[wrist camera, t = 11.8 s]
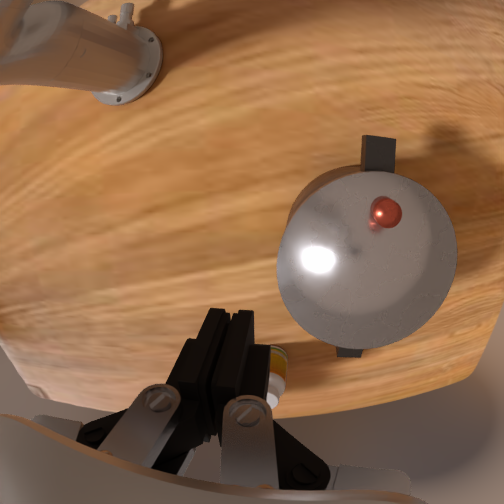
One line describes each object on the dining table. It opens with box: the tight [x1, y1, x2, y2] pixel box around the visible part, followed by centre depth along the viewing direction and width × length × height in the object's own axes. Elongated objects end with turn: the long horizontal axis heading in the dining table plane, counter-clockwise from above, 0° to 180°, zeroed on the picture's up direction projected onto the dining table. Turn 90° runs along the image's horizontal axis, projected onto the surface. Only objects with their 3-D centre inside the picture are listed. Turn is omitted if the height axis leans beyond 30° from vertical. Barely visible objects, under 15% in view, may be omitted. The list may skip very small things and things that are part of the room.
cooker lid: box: [277, 171, 457, 349], centre depth 26 cm, size 19×19×3 cm
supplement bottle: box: [267, 345, 288, 409], centre depth 41 cm, size 5×5×10 cm
